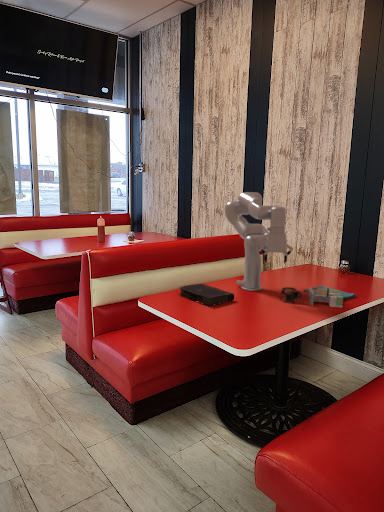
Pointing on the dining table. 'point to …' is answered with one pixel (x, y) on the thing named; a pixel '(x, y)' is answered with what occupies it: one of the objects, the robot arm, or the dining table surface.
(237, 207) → the robot arm
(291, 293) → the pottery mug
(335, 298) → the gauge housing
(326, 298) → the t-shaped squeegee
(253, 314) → the dining table surface
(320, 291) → the dish towel
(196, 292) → the diary
